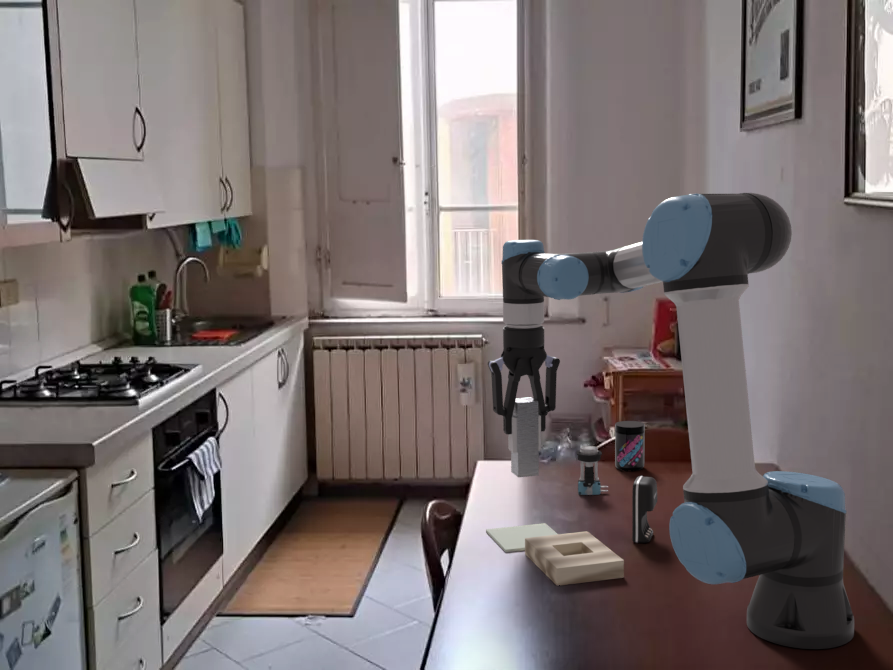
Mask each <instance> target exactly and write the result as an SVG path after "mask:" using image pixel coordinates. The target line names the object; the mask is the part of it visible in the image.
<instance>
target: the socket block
mask: <svg viewBox="0 0 893 670" xmlns="http://www.w3.org/2000/svg"><path fill="white" fill-rule="evenodd" d="M557 534H558V535H549V536H540V537H531V538H525V550H524V555H525V556H526V557H527V558H528V559H529V560H530V561H531V562H532V563H533V564H534V565H536V567H537V568H538V569H540V571H541V572H542V573H543V574H545V576H546V577H547V578H548V579H549V580H551V582H552V583H554V585H555V586H559V585H560V586H566V585H575V584H581V583H590V582H599V581H606V580H614V579H622V578H624V577H625V560H624V558H622V557H620V556H619V555H618V554H616V553H615V552H614V551H613V550H611V549H610V548H609V547H608V546H606V545H605V544H604V543H603V542H602V541H600V540H599V539H598V538H596V537H595V536H594V535H593V534H592V533H590V531H578V532H569V533H557Z"/></svg>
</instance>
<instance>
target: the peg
mask: <svg viewBox="0 0 893 670" xmlns="http://www.w3.org/2000/svg"><path fill="white" fill-rule="evenodd" d="M513 416H514V417H516V418H517V453H513V452H511V451H510V461H511V462H510V464H511V466H510V472H511V473H512V474H513V475H514V476H516V477H517V478H527V477H537V476H540V475H539V474H540V470H539V469H540V468H539V463H540V461H539V456H540V454H539V453H540V450H539V443H538V401H537V400H535V399H534V398H533V397H532V396H530V397H529V396H527V397H518V398H517V397H516V400H515V405H514V411H513Z"/></svg>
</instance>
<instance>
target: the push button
mask: <svg viewBox="0 0 893 670" xmlns="http://www.w3.org/2000/svg"><path fill="white" fill-rule="evenodd" d="M575 453H576V456H577V460H578V461H579V462H580V477H579V479H578V480H577V493H578V495H582V496H585V495H586V496H588V495H589V496H591V495H592V496H594V495H596V496H597V495H601V492H609V490H608V489H601V488H609V486H608V485H601V481H600V478H599V475H598V466H599V465H598V462H599V461H601V456H602V454H603V453H602V451H601V450H598V447H597V446H596V445H595V446H593V445H584V446H583V445H582V446H581V447H580V449H579V450H577V451H576V452H575Z"/></svg>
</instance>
